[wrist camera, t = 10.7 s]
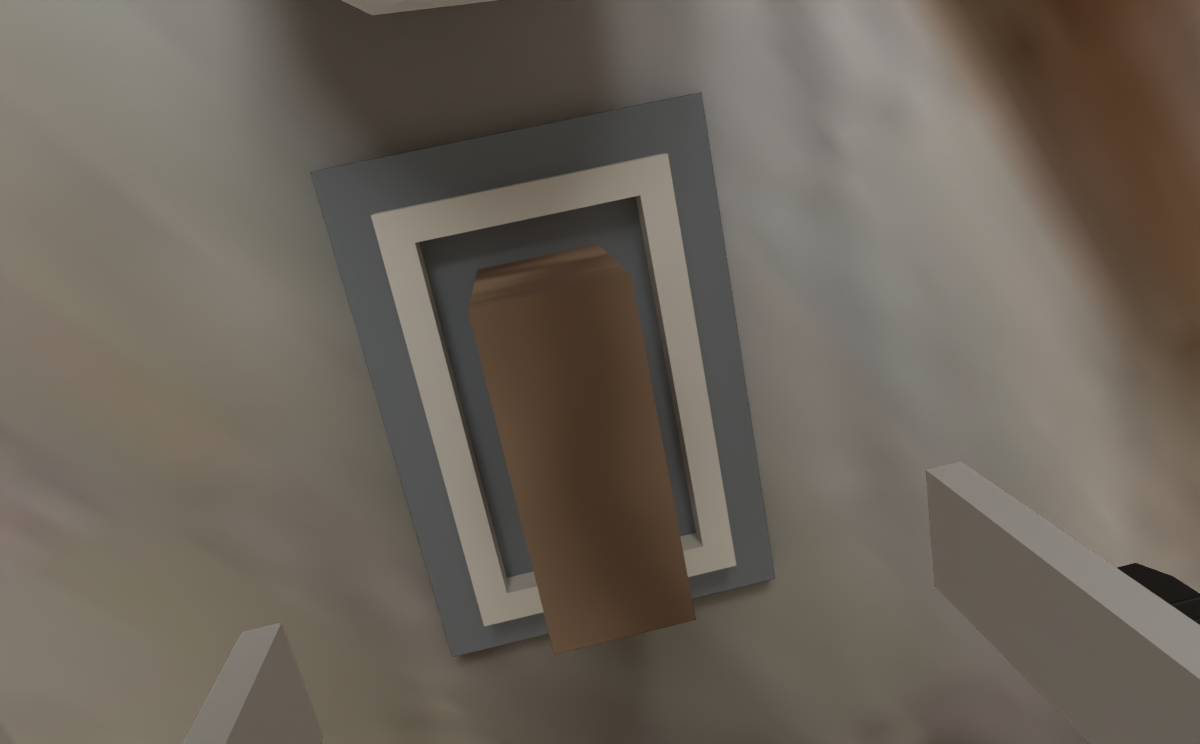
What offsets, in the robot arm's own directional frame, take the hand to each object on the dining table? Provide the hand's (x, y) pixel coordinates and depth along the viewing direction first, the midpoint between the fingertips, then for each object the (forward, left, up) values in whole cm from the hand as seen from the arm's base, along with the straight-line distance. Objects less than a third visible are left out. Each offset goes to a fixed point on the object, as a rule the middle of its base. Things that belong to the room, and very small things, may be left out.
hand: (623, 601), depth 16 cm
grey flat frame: (0, 0, -16) cm, 16 cm away
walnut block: (0, 0, -15) cm, 15 cm away
